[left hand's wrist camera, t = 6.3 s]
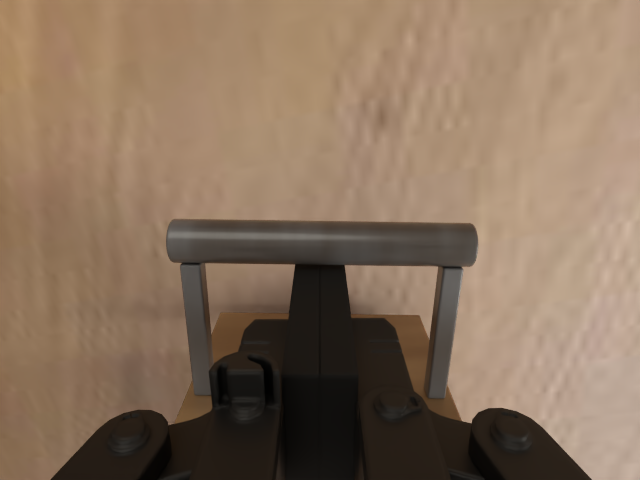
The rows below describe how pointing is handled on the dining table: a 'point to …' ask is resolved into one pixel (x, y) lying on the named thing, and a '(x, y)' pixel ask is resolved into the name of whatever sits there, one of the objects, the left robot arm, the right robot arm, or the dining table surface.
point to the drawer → (322, 249)
